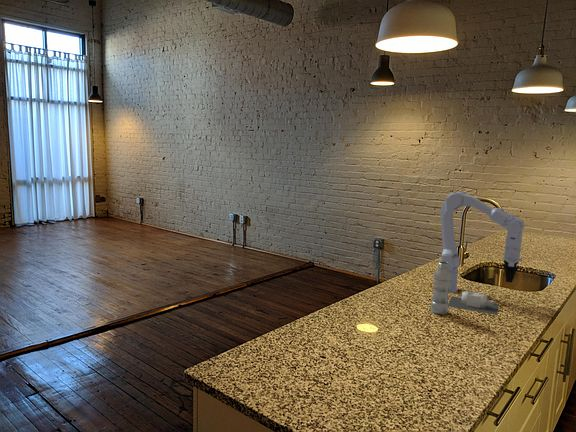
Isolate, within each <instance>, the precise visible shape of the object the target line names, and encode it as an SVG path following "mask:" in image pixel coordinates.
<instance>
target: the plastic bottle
mask: <svg viewBox="0 0 576 432" xmlns="http://www.w3.org/2000/svg"><path fill="white" fill-rule="evenodd" d="M437 264H438V265H437V267H438V268H436V269H437V270H435V272H434V273H433V292H432V293H433V294H432V298H431V302H430V307H429V308H430V310H431V312H432V313H433V314H436V315H446V314H447V313H448V312H449V309H450V307H449V287H450V283H451V280H452V276H451V273H450V272H449V270H448V268H449V263H448V262H440V261H438V263H437Z"/></svg>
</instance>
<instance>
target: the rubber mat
mask: <svg viewBox="0 0 576 432" xmlns="http://www.w3.org/2000/svg"><path fill="white" fill-rule="evenodd" d="M461 298H462V297H459V296H453V295H451V298H450V300H449V301H448V303H449V308H455V309H456V308H457V309H461V310H466V311H473V312H478V313H482V314H489V315H496V316H498V313H499V303H494V302H493V305H489V304H486V308H477V307H472V306H466V305H463V304H461Z"/></svg>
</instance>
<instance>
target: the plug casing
mask: <svg viewBox="0 0 576 432" xmlns="http://www.w3.org/2000/svg"><path fill="white" fill-rule="evenodd" d="M460 298H461V304H463V305H466V306H472V307H477V308H486V304H489V305H493V303H494V300H491V299H488V295H487V294H483V293H478V292H472V291H465V290H464V291H461V297H460Z"/></svg>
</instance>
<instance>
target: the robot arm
mask: <svg viewBox="0 0 576 432" xmlns="http://www.w3.org/2000/svg"><path fill="white" fill-rule="evenodd" d="M461 207H472V208H474V209H476V210H478V211H479V212H481V213H484V214H485V215H487V216H488V217H489V220H490V221H492V222H493V223H496V224H497V225H499V226H501V227H502V228H505V229H506V231H507V232H506V237H505V246H504V254H503V257H502V259H503V265H502V267H503V269H504V274H505V282H507V283H513V282H514V278H515V275H516V273H517V271H518V270H519V268H520V266H517V265H518V264H519V262H523V258H521V249H522V240H523V230H524V228H525V221H524V220H522V218H520V217H517V216H516V215H514V214H510V213H508V212H507V211H505V209H504V208H503V207H501V208H499V207H496V208H493V207H491V206H490V205H488V204H487V203H485V202H483V201H481V200H480V199H478V198H476V197H475V196H473V195H471V194H470V193H466V192H464V191H462V190H460V191H457V192H455V191H454V192H452V193H449V194H448V195H447V196H446V197H445V198H444V201H443V203H442V205H441V208H440V211H439V214H440V225H441V227H440V228H441V237H442V238H441V239H442V252H441V260H440V261H439V262H448V263H449V268H448V270H449V272H450V273H451V276H452V280H451V283H450V287H449V292H451V293H455V294H457V291H458V290H459V287H458V286H457V285H458V276H459V275H458V274H459V269H458V267H459V266H460V265H461V258H460V256H459V254H458V251H457V248H456V240H455V239H456V238H455V225H454V213H455V212H456V211H457V210H458V209H459V208H461ZM437 269H438V268H436V270H437ZM436 270H435V271H436Z"/></svg>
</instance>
